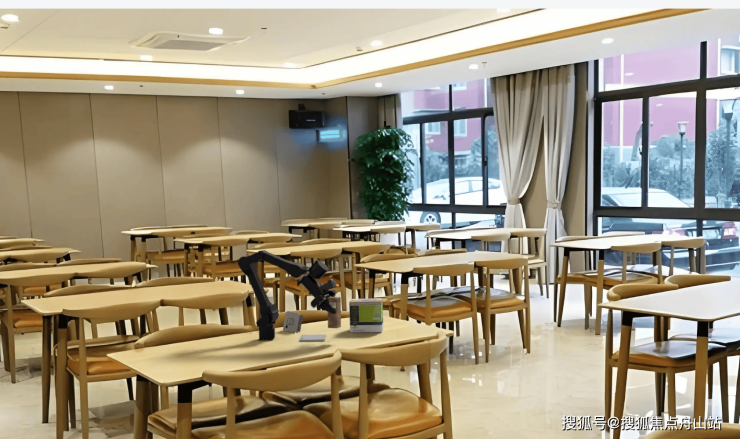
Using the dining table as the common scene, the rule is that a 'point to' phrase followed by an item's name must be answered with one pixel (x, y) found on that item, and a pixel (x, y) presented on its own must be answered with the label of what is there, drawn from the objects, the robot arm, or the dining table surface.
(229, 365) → the dining table surface
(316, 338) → the slate coaster
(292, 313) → the electrical switch
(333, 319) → the walnut block
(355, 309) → the tea box
